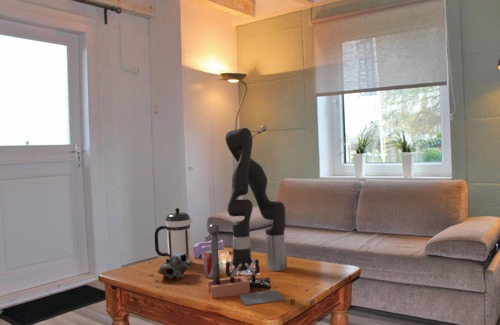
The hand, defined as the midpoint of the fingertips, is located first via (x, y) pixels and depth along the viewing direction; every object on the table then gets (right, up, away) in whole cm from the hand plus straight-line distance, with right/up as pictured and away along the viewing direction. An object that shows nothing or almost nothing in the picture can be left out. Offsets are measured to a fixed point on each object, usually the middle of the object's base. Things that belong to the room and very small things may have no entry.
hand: (243, 284), depth 185 cm
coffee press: (-35, -3, +46) cm, 58 cm away
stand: (-11, -3, -3) cm, 12 cm away
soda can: (-15, -3, +22) cm, 27 cm away
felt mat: (+7, -2, -11) cm, 13 cm away
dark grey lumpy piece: (-33, -3, +24) cm, 41 cm away
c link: (-6, -3, -1) cm, 7 cm away
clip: (-20, -1, +64) cm, 67 cm away
